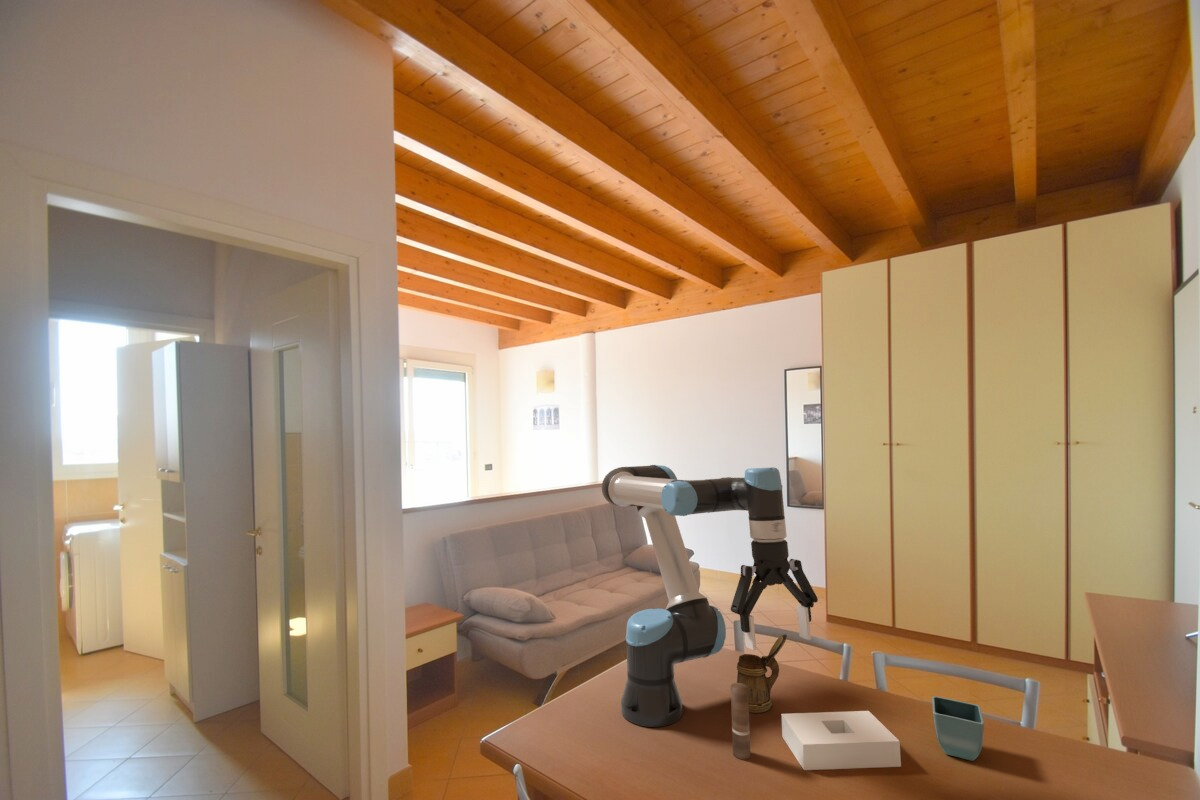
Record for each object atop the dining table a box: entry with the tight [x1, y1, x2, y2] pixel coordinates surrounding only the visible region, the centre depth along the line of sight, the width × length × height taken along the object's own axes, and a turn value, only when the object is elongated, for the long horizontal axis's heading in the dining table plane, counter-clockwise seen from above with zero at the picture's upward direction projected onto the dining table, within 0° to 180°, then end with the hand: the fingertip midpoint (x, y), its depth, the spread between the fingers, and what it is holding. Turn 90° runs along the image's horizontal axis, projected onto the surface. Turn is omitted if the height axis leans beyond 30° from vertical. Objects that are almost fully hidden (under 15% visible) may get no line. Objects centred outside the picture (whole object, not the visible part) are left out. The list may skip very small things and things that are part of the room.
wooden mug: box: [736, 634, 788, 714], centre depth 134 cm, size 9×14×18 cm, turn 72°
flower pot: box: [931, 695, 985, 762], centre depth 113 cm, size 9×9×9 cm
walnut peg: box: [730, 682, 751, 761], centre depth 114 cm, size 4×4×14 cm
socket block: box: [780, 710, 902, 771], centre depth 114 cm, size 12×20×5 cm, turn 92°
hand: (778, 643), depth 112 cm, fingers open, 13 cm apart
